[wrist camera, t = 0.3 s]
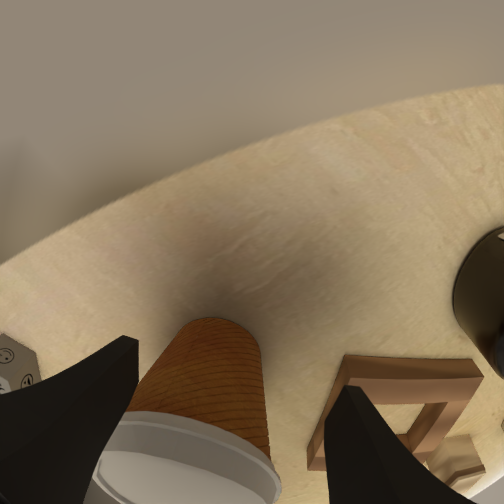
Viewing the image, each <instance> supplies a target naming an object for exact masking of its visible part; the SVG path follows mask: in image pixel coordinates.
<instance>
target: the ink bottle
mask: <svg viewBox="0 0 504 504" xmlns="http://www.w3.org/2000/svg"><path fill="white" fill-rule="evenodd" d="M454 310H455V315H456V318H457V321H458V323H459V325H460V326H461V328H462V329H463V330H464V332H465V333H466V334H467V335H468V337H469V338H470V339H471V341H472V342H473V343H474V344H475V346H476V347H477V348H478V350H479V351H480V352H481V354H482V355H483V356H484V357H485V359H486V360H487V362H488V363H489V364H490V366H491V367H492V368H493V370H494V371H495V372H496V373H497V374H498V376H500V377H501V378H502V379H504V228H501V229H499V230H496V231H495V232H493V233H491V234H490V235H489V236H487V237H486V238H485V239H484V240H483V241H482V242H481V243H480V244H479V245H478V246H477V247H476V248H475V249H474V251H473V252H472V253H471V255H470V256H469V258H468V259H467V261H466V262H465V264H464V266H463V268H462V270H461V272H460V274H459V277H458V280H457V283H456V286H455V291H454Z"/></svg>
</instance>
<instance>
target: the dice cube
mask: <svg viewBox="0 0 504 504" xmlns="http://www.w3.org/2000/svg"><path fill="white" fill-rule="evenodd" d="M41 381H42V380H41V376H40V371H39V367H38V362H37V357H36V352H34V351H32V350H30V349H29V348H27V347H25V346H23V345H22V344H20V343H18V342H17V341H15V340H13V339H11V338H10V337H8V336H7V335H5V334H3V333H2V334H1V335H0V394H4V393H8V392H11V391H14V390H18V389H21V388H24V387H27V386H30V385H33V384H36V383H38V382H41Z"/></svg>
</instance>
